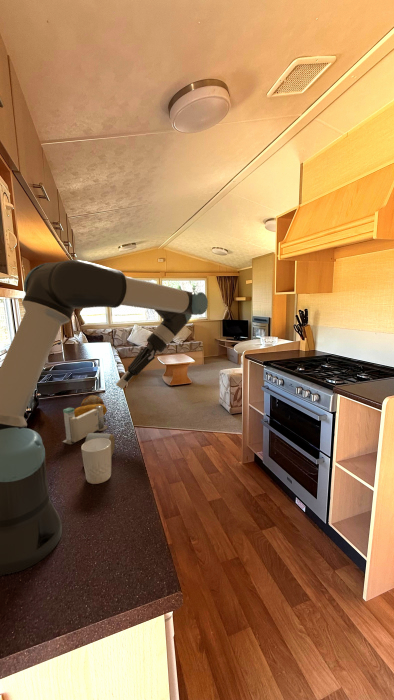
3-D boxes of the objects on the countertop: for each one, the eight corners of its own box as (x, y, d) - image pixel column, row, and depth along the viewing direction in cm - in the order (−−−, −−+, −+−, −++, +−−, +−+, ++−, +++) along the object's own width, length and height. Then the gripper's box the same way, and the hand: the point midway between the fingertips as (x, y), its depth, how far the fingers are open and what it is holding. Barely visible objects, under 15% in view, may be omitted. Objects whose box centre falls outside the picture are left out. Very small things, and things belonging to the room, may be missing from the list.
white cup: (111, 467, 90) (109, 436, 89) (114, 481, 83) (112, 448, 81) (84, 472, 88) (81, 441, 86) (84, 488, 80) (81, 453, 79)
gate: (95, 428, 116) (93, 407, 115) (98, 429, 115) (97, 408, 114) (71, 441, 106) (69, 418, 104) (75, 442, 105) (73, 419, 104)
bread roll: (88, 420, 135) (92, 406, 132) (74, 407, 139) (77, 394, 136) (105, 413, 143) (109, 400, 140) (92, 401, 147) (95, 388, 144)
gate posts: (69, 445, 104) (66, 412, 102) (61, 441, 107) (57, 409, 105) (110, 427, 118) (108, 398, 116) (102, 424, 121) (99, 396, 119)
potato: (107, 421, 125) (106, 405, 124) (72, 425, 121) (70, 409, 120) (107, 414, 132) (106, 399, 131) (73, 418, 128) (72, 403, 127)
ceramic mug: (111, 461, 94) (110, 438, 93) (84, 462, 93) (82, 439, 92) (117, 445, 104) (116, 424, 103) (93, 446, 104) (92, 425, 102)
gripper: (172, 347, 110) (129, 397, 107) (162, 343, 122) (123, 388, 118) (158, 334, 107) (113, 385, 104) (148, 330, 119) (108, 376, 115)
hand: (118, 386), depth 111 cm, fingers closed
